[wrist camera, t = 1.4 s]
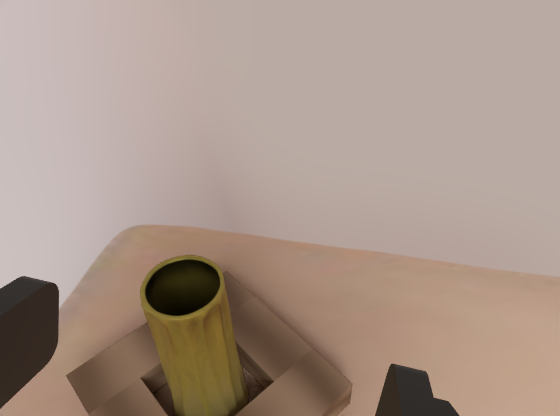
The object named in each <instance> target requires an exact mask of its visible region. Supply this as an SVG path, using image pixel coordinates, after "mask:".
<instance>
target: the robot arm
mask: <svg viewBox="0 0 560 416" xmlns="http://www.w3.org/2000/svg"><path fill="white" fill-rule="evenodd" d="M58 317H59V290H58V287H57V285H56V284H54V283H51V282H47V281H43V280H39V279H34V278H30V277H26V276H22V277H20V278H17V279H16V280H14V281H12V282H11V283H9V284H7V285H6V286H4V287H2V288H1V289H0V408H2V407H3V406H4V405H5V404H6V403H7V402H8V401H9V400H10V399H11V398H12V397H13V396H14V395H15V394H16V393H17V392H18V391H19V390H21V389H22V388H23V387H24V386H25V385H26V384H27V383H28V382H29V381H30V380H31V379H32V378H33V377H34V376H35V375H36V374H37V373H38V372H40V371H41V370H42V369H43V368H44V367H45V366H46V365H47V364H48V362H49V361H50V359H51V358H52V356H53V354H54V352H55V350H56V347H57V343H58ZM375 416H459V414H458V413H457V412H456V411H455V409H454V408H453V407H452V405H451V404H450V403H449V402H448V401H445V400H441V399H437V398H434V397H433V393H432V389H431V386H430V382H429V378H428V374H427V372H425V371H422V370H417V369H413V368H409V367H405V366H400V365H396V364H391V365H390V367H389V370H388V373H387V376H386V380H385V383H384V387H383V390H382V394H381V397H380V401H379V404H378V408H377V411H376V414H375Z"/></svg>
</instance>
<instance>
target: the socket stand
mask: <svg viewBox="0 0 560 416" xmlns="http://www.w3.org/2000/svg"><path fill="white" fill-rule="evenodd" d="M223 276H224V283H225V288H226V293H227V298H228V303H229V309H230V314H231V319H232V325H233V331H234V336H235V341H236V346H237V351H238V356H239V360H240V363H241V364H242V365H243V366H244V367H245V368H246V369H247V370H248V371H249V373H250V374H251V375H252V376H253V377H254V378H255V379H256V380H257V381H258V382H259V383H260V384H261V385H262V386H263V387H264V388H265V390H264V391H263V392H262V393H260V394H259V395H258V396H257V397H256V398H255V399H253V400H252V401H251V402H250V403H249V404H248V405H247V406H245V407H244V408H243V409H242V410H241V411H240V412H238V413H237V414H236V415H235V416H337V415H338V414H339V413H340V412H341V411H342V410H343V409H344V408H345V407H346V406H347V405H348V404H349V403H350V398H351V391H352V383H351V382H350V381H349V380H348V379H347V378H346V377H345V376H343V375H342V374H341V373H340V372H339V371H338V370H337V369H336V368H334V367H333V366H332V365H331V364H330V363H329V362H328V361H327V360H326V359H324V358H323V357H322V356H321V355H320V354H319V353H318V352H317V351H315V350H314V349H313V348H312V347H311V346H310V345H309V344H308V343H307V342H305V341H304V340H303V339H302V338H301V337H300V336H299V335H298V334H297V333H295V332H294V331H293V330H292V329H291V328H290V327H289V326H288V325H286V324H285V323H284V322H283V321H282V320H281V319H280V318H279V317H278V316H276V315H275V314H274V313H273V312H272V311H271V310H270V309H269V308H267V307H266V306H265V305H264V304H263V303H262V302H261V301H260V300H259V299H257V298H256V297H255V296H254V295H253V294H252V293H251V292H250V291H248V290H247V289H246V288H245V287H244V286H243V285H242V284H241V283H240V282H238V281H237V280H236V279H235V278H234V277H233V276H232V275H231V274H229V273H228V272H227V271H226V272H225V273H223ZM66 376H67V378H68V380H69V382H70V383H71V385H72V387H73V388H74V390H75V392H76V394H77V395H78V397H79V399H80V400H81V402H82V404H83V406H84V407H85V409H86V411H87V412H88V414H89V416H168V415H167V414H166V413H165V411H164V410H163V409H162V407H161V406H160V404H159V403H158V402H157V400H156V399H155V397H154V396H153V395H152V393H154V392H155V391H156V390H158V389H159V388H160V387H162V386H163V385H164V384H166V383H167V380H166V377H165V374H164V372H163V368H162V365H161V362H160V358H159V354H158V350H157V347H156V344H155V341H154V339H153V336H152V333H151V331H150V328H149V325H148V322H147V323H146V324H144V325H143V326H141V327H140V328H138V329H137V330H135V331H134V332H132V333H130V334H129V335H127V336H126V337H124V338H123V339H121V340H120V341H118V342H117V343H115V344H113V345H112V346H110V347H109V348H107V349H106V350H104V351H103V352H101V353H100V354H98V355H97V356H95V357H93V358H92V359H90V360H89V361H87V362H86V363H84V364H83V365H81V366H80V367H78V368H76V369H75V370H73V371H72V372H70V373H69V374H67V375H66Z"/></svg>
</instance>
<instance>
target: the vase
mask: <svg viewBox="0 0 560 416" xmlns="http://www.w3.org/2000/svg"><path fill="white" fill-rule="evenodd" d="M140 296H141V305H142V308H143V311H144V314H145V316H146V319H147V322H148V325H149V328H150V331H151V333H152V336H153V339H154V341H155V344H156V347H157V350H158V354H159V358H160V362H161V365H162V368H163V372H164V374H165V377H166V380H167V383H168V386H169V388H170V390H171V394H172V399H173V406H174V413H175V416H235V415H236V414H237V413H238V412H240V411H241V410H242V409H243V408H244V407H245V406H247V402H248V388H247V384H246V381H245V380H244V374H243V371H242V367H241V363H240V360H239V356H238V351H237V346H236V341H235V336H234V331H233V325H232V319H231V314H230V309H229V303H228V298H227V293H226V288H225V283H224V276H223V273H222V271H221V269H220V268H219V267H218V266H217V265H216V264H215V263H214V262H212V261H210V260H208V259H206V258H203V257H200V256H194V255H183V256H178V257H174V258H171V259H168V260H165V261H163V262H161V263H160V264H158V265H157V266H155V267H154V268H153V269H152V270H151V271H150V272H149V273H148V274H147V276H146V278H145V279H144V281H143V283H142V286H141V289H140Z"/></svg>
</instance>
